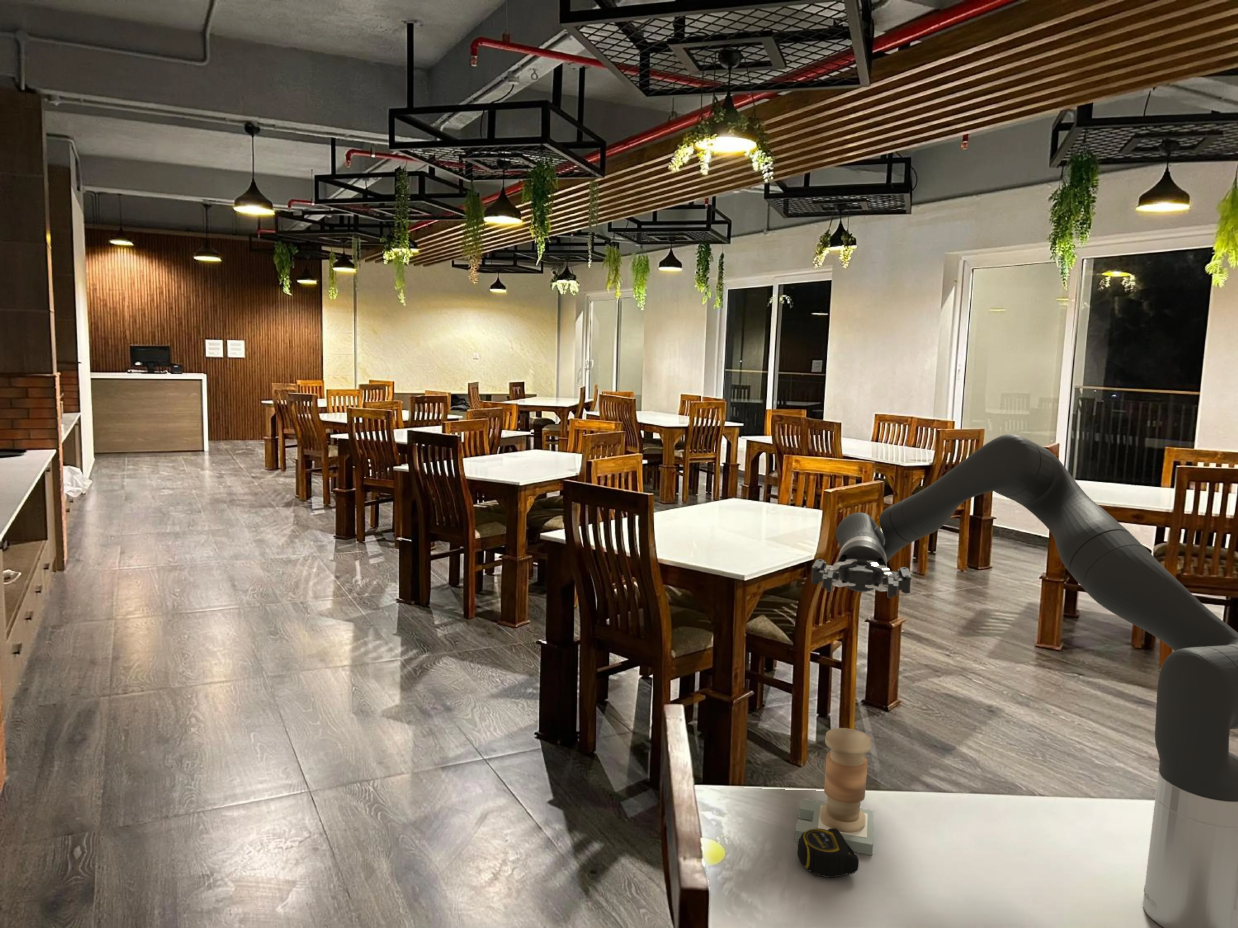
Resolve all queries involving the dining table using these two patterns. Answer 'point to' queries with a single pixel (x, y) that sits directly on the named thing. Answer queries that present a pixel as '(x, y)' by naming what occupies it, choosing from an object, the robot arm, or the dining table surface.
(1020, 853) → the dining table surface
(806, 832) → the tape measure
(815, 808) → the plate
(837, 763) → the bobbin
